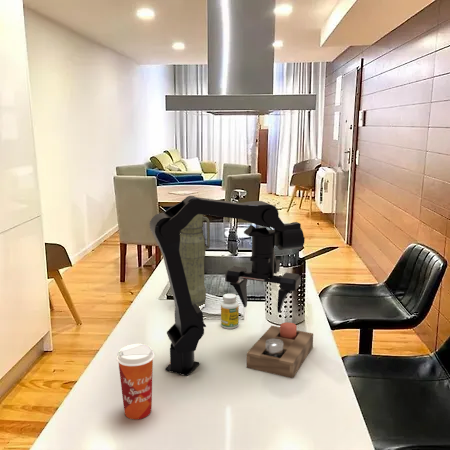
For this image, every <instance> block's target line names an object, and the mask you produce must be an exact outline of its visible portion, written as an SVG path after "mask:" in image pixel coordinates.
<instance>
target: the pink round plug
mask: <svg viewBox="0 0 450 450" xmlns="http://www.w3.org/2000/svg"><path fill="white" fill-rule="evenodd" d="M279 327H280V337H282V338H287V339H292V340H294V339H295V338H296V330H297V327H298V326H297V325H296V323H293V322H290V321H289V322H282V323H281V324H279Z"/></svg>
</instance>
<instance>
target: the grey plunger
mask: <svg viewBox="0 0 450 450" xmlns="http://www.w3.org/2000/svg"><path fill="white" fill-rule="evenodd" d="M283 354H284V352H283V341H282V340H280V339H268V340H266V351H265V353H264V355H268V356H273V357H278V358H281V357H282V356H283Z"/></svg>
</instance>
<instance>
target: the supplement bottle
mask: <svg viewBox="0 0 450 450" xmlns="http://www.w3.org/2000/svg"><path fill="white" fill-rule="evenodd" d="M222 300H223V301H222V302H221V303H220V325H221V327H222V328H224V329H227V330H233V329H236V328H238V326H239V318H240V317H239V313H240V312H239V307H240V306H239V303H238V301H237V295H236V294H235V293H225V294H223V295H222Z"/></svg>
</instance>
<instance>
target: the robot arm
mask: <svg viewBox="0 0 450 450" xmlns="http://www.w3.org/2000/svg"><path fill="white" fill-rule="evenodd" d="M198 214H201V215H203V216H211V217H219V218H228V219H234V220H235V219H237V220H243V221H244V222H245V221H246V222H249V223H250V225H249V226H248V227H247V228H246V229H245V230H244V231H243V234H245V235H246V236H248V237H251V256H250V257H249V258H250V259H249V261H250V262H251V271H248V269H247V268H246V267H244V266H236V265H233V266H232V267H231V268H230V269H228V270H227V271H226V272H225V273H224V274H225V276H224V281H225V282H226V283H229V285H230V286H232V287H233V288H234V290H235V292H236V293H237V295H238V297H239V299H240V301H241V303H242V306H243V308H247V306H248V291H247V284H248V280H249V281H257V282H264V283H270V284H278V285H279V287H280V288H279V289H278V292H277V293H278V294H277V309H276V310H277V313H281V311H282V308H283V306H284V303H285V300H286V298H287V295H288V294H291V293H292V292H295V291H297V289H298V288H299V287H300V286H301V283H302V282H301V281H302V278H301V276H300V274H299V273H292V272H285V273H284V274H283V275H276V274H277V273H278V272H280V267H281V259H277V257H276V252H275V247H277V249H278V250H279V251H287V250H296V249H297V250H298V249H302V248H303V247H304V245H305V239H306V238H305V236H304V232H303V229H302V227H301V223H300V222H297V221H294V222H290V223H289V222H288V223H284V222H283V221H282V219H281V218H280V215H279V209H278V208H277V207H276V206H275V205H273V204H270V203H268V202H266V201H263V200H253V201H251V200H250V201H243V202H233V201H228V200H220V199H213V198H205V197H204V198H203V197H199V196H195V195H188V196H186V197H185V198H184V199H182V200H181V201H179V202H178V203H176V204H175V205H173V206H171V207H169V208H168V209H166V210H165V211H164V212H161V213H160V212H159V213H156V214H155V215H154V216H152V218H151V220H150V221H149V229H150V231H151V233H152V236H153V238H154V240H155V242H156V244H157V246H158V248H159V250H160V253H161V254H162V258H163V261H164V266H165V270H166V273H167V277H168V281H169V285H170V289H171V292H172V296H173V301H174V324H173V325H172V326H170V328H169V329H168V330H166V334H167V337H168V340H170V347H169V354H170V355H169V364H168V365H167V366H166V367H164V370H165V371H167V372H171V373H174V374H178V375H183V376H187V377H188V376H189V375H190V374H191V373H192V372H193V371H195V369H197V367H199V365H200V361H196V360H195V351H196V350H197V348H198V344H199V341H200V340H201V339H202V337H203V336H204V335H205V328H207V325H206V324H205V322H204V314H203V311H202V309H201V310H200V308H199V307H198V306H197V304H193V305H192V301H191V297H190V293H189V289H188V285H187V281H186V277H185V273H184V269H183V264H182V260H181V256H180V251H179V250H180V231H181V230H182V229H183V228H185V227H186V226H187V225H188V224H189V222H190V221H191V220H192V219H193V218H194V217H195V216H196V215H198ZM252 224H255V225H258V226H259V227H255V226H254V225H252ZM268 228H272V229H268Z"/></svg>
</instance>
